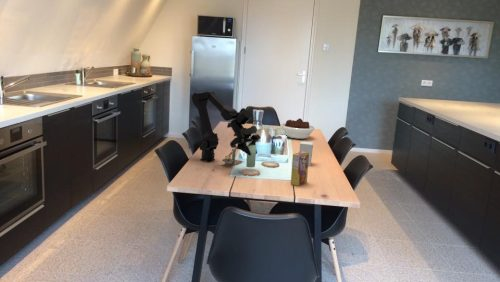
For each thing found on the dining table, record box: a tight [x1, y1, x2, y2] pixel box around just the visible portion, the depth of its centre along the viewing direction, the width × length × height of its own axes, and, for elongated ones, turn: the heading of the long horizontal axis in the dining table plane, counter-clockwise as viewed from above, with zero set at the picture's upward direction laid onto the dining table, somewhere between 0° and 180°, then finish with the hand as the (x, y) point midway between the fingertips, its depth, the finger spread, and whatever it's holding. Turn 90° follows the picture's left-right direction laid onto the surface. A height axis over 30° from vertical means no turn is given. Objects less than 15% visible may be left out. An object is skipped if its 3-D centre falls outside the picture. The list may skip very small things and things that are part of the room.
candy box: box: [290, 152, 309, 187], centre depth 203 cm, size 9×4×15 cm, turn 140°
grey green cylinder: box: [245, 144, 257, 168], centre depth 214 cm, size 4×4×11 cm
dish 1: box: [240, 168, 261, 177], centre depth 216 cm, size 10×10×1 cm
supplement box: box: [298, 140, 314, 167], centre depth 242 cm, size 7×7×13 cm
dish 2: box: [261, 160, 280, 168], centre depth 235 cm, size 10×10×1 cm
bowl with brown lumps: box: [281, 118, 315, 140], centre depth 319 cm, size 25×25×15 cm
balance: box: [221, 145, 243, 167], centre depth 232 cm, size 6×19×10 cm, turn 154°
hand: (253, 154), depth 213 cm, fingers closed on grey green cylinder, 4 cm apart
